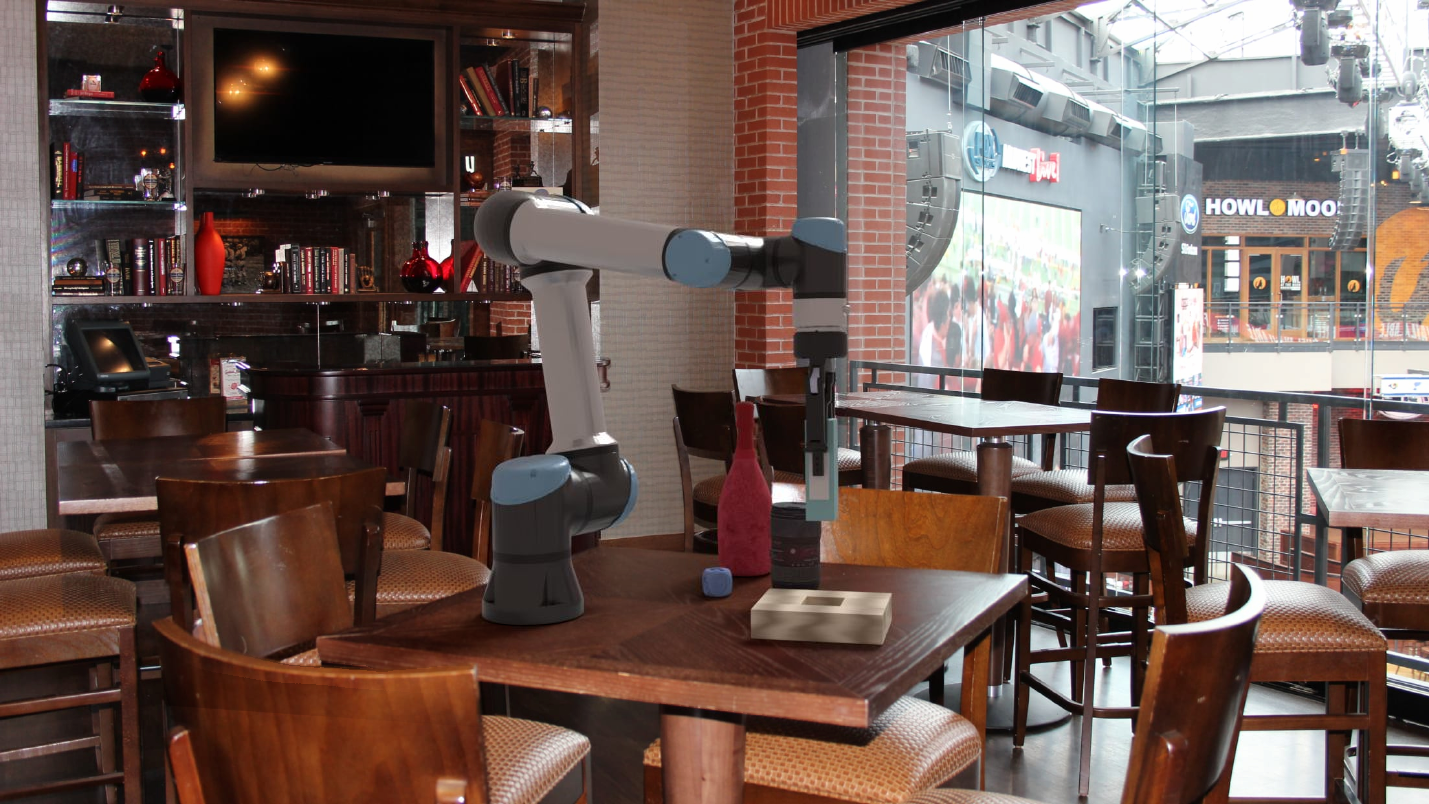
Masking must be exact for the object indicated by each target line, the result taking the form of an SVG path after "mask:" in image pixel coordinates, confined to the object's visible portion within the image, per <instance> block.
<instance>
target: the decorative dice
mask: <svg viewBox="0 0 1429 804" xmlns="http://www.w3.org/2000/svg"><path fill="white" fill-rule="evenodd" d="M701 579H702V590H703V593H704V595H705V596H707V597H713V598H718V597H727V596H729V595H730V594H731V593H732V591H733V576H732V575H731V572H730V570H729V569H727V568H719V567H710V568H706V569H705V570H704V571H703V572H702V578H701Z"/></svg>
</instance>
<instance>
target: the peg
mask: <svg viewBox="0 0 1429 804" xmlns="http://www.w3.org/2000/svg"><path fill="white" fill-rule="evenodd" d="M838 436H839V433H838V418H837V417H835V418H828V433H827V447H828V450H827V452H829V496H830V499H829V500H809V453H804V459H805V461H804V464H805V465H804V466H805V472H804V473H805V475H804V476H805V477H804V478H805V502H806V521H822V522H835V521H836V520H837V519H838V518H839V448H838V443H839V442H838V439H839V437H838ZM804 448H806V419H805V420H804Z"/></svg>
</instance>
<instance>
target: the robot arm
mask: <svg viewBox="0 0 1429 804" xmlns="http://www.w3.org/2000/svg"><path fill="white" fill-rule="evenodd" d="M473 222H474V223H473V232H474V233H473V234H474V237H475V240H476V243H477V244H478V245H477V246H479V248H480V250H481V251H482V252H483V254H484V255H486V256H487V257H488V258H489V259H491V260H492V261H494V262H495V263H497V264H498V263H499V264H501V265H505V266H513V267H517V268H518V274H519V281H520V284H521V285H522V286H523V287H524V288H526V290H528V291H529V292H530V293H531V295H532V301H533V302H532V303H533V304H532V305H533V310H534V317H535V323H536V330H537V338H538V344H539V345H538V346H539V353H540V358H541V363H542V371H543V377H544V378H543V379H544V385H545V391H546V398H547V406H548V412H549V420H550V426H551V432H552V443H551V444H550V446H549V447H548V448H547V450H546V451H545V454H534V455H529V456H520V457H516V458H511V459H509V460H506V461H504V462H502V463H499V464H498V465H497V466H496V467H495V469H493V472H492V474H491V489H490V499H491V500H490V502H491V533H492V536H491V537H492V567H491V571H490V573H489V577H488V581H487V584H486V587H485V591H484V595H483V596H482V600H481V614H482V615H481V616H482V618H483V619H485V620H486V621H489V622H492V623H497V624H502V625H504V624H505V625H512V626H513V625H518V626H527V625H528V626H530V625H545V624H554V623H561V622H564V621H565V622H566V621H569V620H573V619H577V618H578V617H580V616H581V615H582V614H584V611H585V604H584V603H585V602H584V595H583V592H582V589H581V586H580V584H579V580H578V577H577V575H576V571H575V569H574V566H573V561H572V537H574V536H578V535H579V536H580V535H584V534H589V533H592V532H602V531H606V530H608V529H609V528H612V527H615V526H617V525H619V524H621V523H623V522H624V521H625V520H626V519H627V518H628V517H629V516H630V514H631V513H632V511H633V510H634V509H635V506H636V504H637V501H638V497H639V480H638V475H637V473H636V471H635V469H634V467H633V465H632V464H629V462H628V460H627V459H626V458H625V457H623V456H622V455H620V453H621V452H620V449H619V441H617V440H616V439H615V438H613V436H611V435H610V434H609V433H608V431H607V426H606V425H607V424H606V418H605V412H604V404H603V397H602V391H601V385H600V377H599V372H598V365H597V364H598V363H597V358H596V357H597V356H596V351H595V343H594V337H593V336H594V335H593V330H592V323H591V317H590V310H589V302H588V297H587V296H588V295H587V288H586V286H587V283H588V282H589V281H590V279H591V278H592V276H593V275H594V272H593V269H596V270H601V271H602V270H603V271H609V272H614V273H619V274H620V273H621V274H626V275H633V276H638V277H646V278H651V279H656V280H662V281H668V282H674V283H678V284H680V285H683V286H687V287H690V288H695V289H708V288H711V289H713V288H715V289H717V288H718V289H720V288H721V289H724V290H727V291H736V292H750V291H759V290H760V291H762V290H778V289H779V290H780V289H792V305H791V307H792V327H793V328H795V329H796V332H794V334H793V335H792V336H793V337H792V339H793V340H792V341H793V343H792V344H793V345H792V346H793V348H792V349H793V351H792V353H793V356H794V358H795V359H800V360H801V359H802V360H805V359H807V360H809V363H808V371H807V372H804V379H803V384H804V390H805V391H804V393H805V420H806V448H805V447H803V448H802V451H803V453H804V454H805V453H809V500H829V499H830V496H829V452H827V450H828V447H827V433H828V418H836V383H837V371H833V365H832V359H845V358H846V357H847V356H848V334H847V333H846V331H843V328H846V327H847V325H848V323H847V322H848V321H847V320H848V319H847V318H848V317H847V314H846V313H850V312H851V311H852V308H851V305H846V304H847V294H848V293H847V254H848V248H847V239H846V238H847V237H846V226H845V223H844V221H842V220H841V219H840V218H834V217H805V218H804V217H803V218H798V219H795V220H794V221H793V222H792V224H791V230H790V234H785V235H776V236H775V235H773V236H772V235H771V236H768V235H767V236H754V235H742V234H735V233H734V234H733V233H724V232H718V231H711V230H709V229H708V230H706V229H701V228H690V227H689V228H688V227H681V226H676V225H675V226H674V225H668V224H660V223H653V222H648V221H647V222H646V221H641V220H633V219H625V218H619V217H611V216H605V215H598V214H595V213H594V212H593V210H591V208H589V206H588V205H586V204H585V203H583V202H581V201H580V200H577V199H575V198H571V197H569V196H566V195H562V194H548V193H547V194H546V193H538V192H532V191H526V190H525V191H524V190H519V189H518V190H517V189H508V190H501V191H499V192H496V193H494V194H492V195H490V196H489V197H487V198H486V199H485V200H484V201H483V202H482V203H481V204H480V206H479V208H478V209H477V212H476V214H475V217H474V221H473ZM839 448H840V443H839V442H838V449H839Z"/></svg>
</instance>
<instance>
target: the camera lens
mask: <svg viewBox="0 0 1429 804" xmlns="http://www.w3.org/2000/svg"><path fill="white" fill-rule="evenodd" d="M772 503H773V504H772V509H771V513H770V537H771V548H770V554H769V555H770V557H771V571H770V581H771V589H795V590H819V589H820V586H821V585H820V584H821V575H822V572H821V571H822V570H821V569H822V568H821V567H822V566H821V539H822V531H823V530H822V522H823V521H806V501H804V502H802V501H780V502H772Z"/></svg>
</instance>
